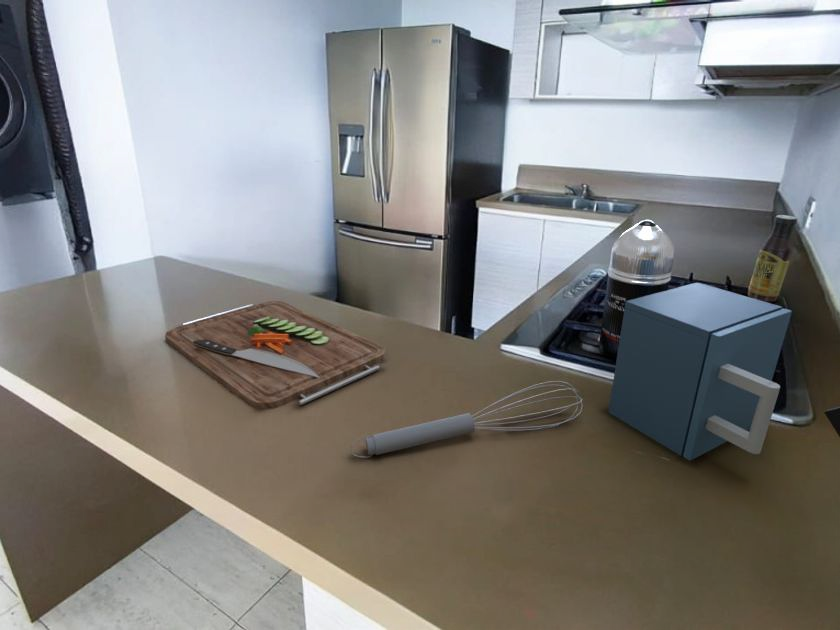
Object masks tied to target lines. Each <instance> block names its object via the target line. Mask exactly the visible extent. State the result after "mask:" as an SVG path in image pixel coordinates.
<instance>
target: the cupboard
mask: <svg viewBox="0 0 840 630" xmlns="http://www.w3.org/2000/svg"><path fill="white" fill-rule="evenodd" d="M782 309H783V306H781V305H777V304H773V303H772V302H764V301H760V300H757V299H753V298H750V297H749V296H746V295H742V294H739V293H735V292H732V291H728V290H725V289H722V288H719V287H715V286H711V285H707V284H704V283H701V282H697V281H696V282H693V283H690V284H686V285H683V286H679V287H675V288H671V289H668V290H667V291H663V292H659V293H655V294H651V295H648V296H644V297H640V298H636V299H632V300H629V301H626V303H625V310H624V316H623V322H622V329H621V335H620V341H619V348H618V354H617V360H615V361H616V362H615V367H614V374H613V381H612V387H611V393H610V399H609V405H608V413H609V414H610V415H611V416H613V417H615V418H617V419H618V420H619V421H622V422H623V423H624V424H627V425H628V426H630V427H631V428H633V429H635V430H637V431H638V432H639V433H642V434H643V435H645V436H647V437H648V438H650V439H652V440H654V441H655V442H657V443H658V444H660V445H661V446H664V447H665V448H666V449H668V450H670V451H672V452H673V453H675V454H677V455H678V456H680V457H683V454H684V450H685V446H686V442H687V437H688V433H689V429H690V424H691V420H692V416H693V411H694V407H695V403H696V398H697V394H698V390H699V386H700V381H701V377H702V373H703V368H704V364H705V360H706V355H707V351H708V347H709V343H710V338H711V334H712V333H715V332H718V331H721V330H724V329H727V328H730V327H733V326H735V325H738V324H741V323H744V322H747V321H750V320H753V319H756V318H759V317H761V316H764V315H767V314H770V313H773V312H776V311H779V310H782Z"/></svg>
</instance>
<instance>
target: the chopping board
mask: <svg viewBox="0 0 840 630" xmlns="http://www.w3.org/2000/svg"><path fill="white" fill-rule="evenodd" d="M164 338H165V341H166V344H167V345H169V346H170V347H171V348H173V349H174V350H176V351H177V352H178V353H180V354H181V355H182V356H183V357H185V358H186V359H188V360H189V361H190V362H191V363H193V364H194V365H195V366H197V367H198V368H200V369H201V370H202V371H203V372H205V373H206V374H208V375H209V376H210V377H211V378H212V379H214V380H215V381H216V382H218V383H219V384H221V385H222V386H223V387H224V388H226V389H227V390H228V391H230V392H231V393H233V394H235V395H236V396H237V397H239V398H240V399H241V400H242V401H244V402H245V403H246V404H248V405H249V406H251V407H252V408H255V409H256V410H257V409H258V410H272V409H276V408H280V407H282V406H285V405H287V404H289V403H292V402H294V401H296V400H298V399H299V400H298V404H299V406H303V405H305V404H307V403H310V402H312V401H313V400H316V399H318V398H321V397H322V396H325V395H327V394H329V393H331V392H334V391H336V390H338V389H340V388H343V387H345V386H346V385H349V384H351V383H353V382H355V381H358V380H360V379H362V378H364V377H365V376H368V375H371V374H373V373H375V372H377V371H380V369H381V368H380V365H378V363H380V362H382V361H384V360H385V359H386V348H385V347H384V346H382V345H381V344H379V343H377V342H375V341H372V340H370V339H368V338H365V337H364V336H361V335H359V334H357V333H355V332H352V331H350V330H348V329H345V328H343V327H341V326H339V325H337V324H334V323H332V322H330V321H327V320H326V319H323V318H321V317H319V316H316V315H314V314H313V313H310V312H308V311H306V310H304V309H302V308H299V307H297V306H295V305H292V304H289V303H287V302H286V301H283V300H269V301H265V302H262V303H261V302H260V303H258V304H253V303H250V304H246V305H243V306H240V307H239V306H238V307H235V308H232V309H228V310H225V311H221V312H218V313H214V314H211V315H207V316H203V317H200V318H196V319H193V320H190V321H185V322H183V323H181V325H180V326H177V327H174V328H171V329H170V330H168V331H166V333H165V335H164ZM372 366H373V367H372ZM365 369H366V370H365ZM361 371H362V372H361ZM358 372H360V373H358ZM356 373H357V374H356ZM354 374H355V375H354ZM352 375H353V376H352ZM350 376H351V377H350ZM345 378H346V379H345ZM343 379H344V380H343ZM341 380H342V381H341ZM336 382H338V383H336ZM327 386H328V387H327ZM325 387H326V388H325ZM323 388H324V389H323ZM316 391H318V392H316ZM314 392H315V393H314ZM311 393H313V394H311ZM309 394H311V395H309ZM307 395H308V396H307ZM300 398H301V399H300Z"/></svg>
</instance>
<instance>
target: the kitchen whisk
mask: <svg viewBox="0 0 840 630" xmlns="http://www.w3.org/2000/svg"><path fill="white" fill-rule="evenodd" d="M548 383H563V384H567V385H568V386H570V387H571V388H570V387H568V386H567V385H561V384H555V386H557V387H563V388H559V389H555V390H551V391H547V392H543V393H540V394H537V395H533V396H529V397H527V398H523V399H521V400H517V401H515V402H512V403H509V404H506V405H503V406H501V407H498V408H496V409H493V410H491V411H489V412H488V411H487V412H486V413H484V414H481V415H479V416H477V415H478V414H480V413H482V412H484V411H486V410H488V409H489V408H492V407H493V406H495V405H497V404H499V403H501V402H504V401H506V400H507V399H509V398H512V397H514V396H517V395H519V394H522V393H524V392H528V391H531V390H534V389H539V388H543V387H552V386H553V387H554V384H548ZM566 390H570V391H572V392H573V393H574V394H575V396H574V395H571V396H570V395H564V396H557V397H550V398H549V397H548V398H544V399H539V400H535V401H532V402H527V403H524V404H520V405H516V406H513V407H509V406H512V405H514V404H518V403H520V402H523V401H526V400H529V399H533V398H535V397H539V396H542V395H546V394H549V393H554V392H558V391H566ZM577 393H578V394H577ZM559 398H560V399H561V398H576V399H575V401H574V402H573V403H572V404H568V405H565V406H561V407H557V408H553V409H547V410H543V411H538V412H532V413H525V414H522V415H515V416H510V417H503V418H497V419H490V420H484V421H478V420H480V419H483V418H486V417H489V416H493V415H496V414H498V413H502V412H506V411H509V410H513V409H515V408H519V407H522V406H526V405H530V404H535V403H539V402H542V401H547V400H553V399H559ZM583 400H584V399H583V398H582V397H580V391H579V390H578V389H576V388H575V387H573V385H571V384H570V383H569V382H565V381H561V380H554V381H553V380H551V381H550V380H549V381H545V382H541V383H537V384H533V385H531V386H527V387H525V388H523V389H521V390H518V391H516V392H513V393H512V394H510V395H507V396H505V397H503V398H500V399H499V400H497V401H496V402H494V403H492V404H490V405H488V406H487V407H485V408H483V409H481V410H480V411H478V412H476V413H474V414H473V415H472V414H471V413H470V412H467V413H463V414H459V415H454V416H450V417H445V418H441V419H436V420H432V421H428V422H423V423H418V424H415V425H411V426H405V427H402V428H397V429H391V430H387V431H384V432H379V433H375V434H372V435H371V436H368V435H364V436H362V437H360V438H358V439H357V440H355V441H354V442H353V443H352V444H351V446H350V453H351V454H352V455H353V456H355V457H357V458H371V457H372V456H373V455H375V456H379V455H383V454H388V453H392V452H396V451H401V450H404V449H408V448H409V449H410V448H412V447H416V446H421V445H426V444H429V443H434V442H439V441H442V440H447V439H450V438H455V437H459V436H463V435H464V436H465V435H467V434H471V433H472V434H473V433H474V432H475V430H476V429H478V430H487V431H489V430H490V431H508V432H509V431H515V432H516V431H517V432H518V431H520V432H521V431H534V430H539V429H540V430H541V429H542V428H544V429H547V428H552V427H557V426H559V425H561V424H563V423H564V424H565V423H567V422H569V421H571V420H574V419H576V418H577V417H578V416H579V415H580V414H581V413H582V410H583V407H584V405H583V402H582V401H583ZM579 404H581V407H580V411H579V413H577V414H576V412H577V411H578V408H579ZM575 405H576V408H575V410H574V412H573V414H572V415H571V416H569V417H568V418H567V419H566V420H564V421H560V422H556V423H552V424H544V425H534V426H521V427H520V426H516V427H515V426H509V427H508V426H507V427H505V426H504V427H502V426H501V427H499V426H498V427H497V426H493V425H506V424H515V423H521V422H527V421H528V422H529V421H533V420H537V419H538V417H536V418H530V419H524V420H518V421H517V420H516V421H508V422H497V423H491V422H495V421H502V420H509V419H514V418H520V417H526V416H531V415H536V414H537V415H538V414H542V413H546V412H551V411H552V412H553V411H556V410H559V411H558V412H555V413H552V414H548V415H544V416H540V417H539V419H543V418H547V417H551V416H554V415H557V414H560V413H562V412H564V411H566V410H568V409H570V408H571V407H573V406H575ZM506 407H509V408H506ZM504 408H506V409H504ZM501 409H503V410H501ZM561 409H562V410H561ZM495 411H496V412H495ZM575 414H576V415H575ZM475 416H476V417H475ZM473 417H474V418H473ZM475 421H478V422H475ZM489 422H490V423H489ZM364 438H365V445H366V450H367V455H368V456H363V455H357V454H354V453H353V446H354V445H355V444H356V443H357V442H359V441H360V440H362V439H364Z"/></svg>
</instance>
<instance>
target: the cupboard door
mask: <svg viewBox="0 0 840 630" xmlns="http://www.w3.org/2000/svg"><path fill="white" fill-rule="evenodd" d="M792 313H793V310H791V309H787V308H782V309H781V310H779V311H776V312H773V313H770V314H767V315H764V316H761V317H759V318H756V319H753V320H750V321H747V322H744V323H741V324H738V325H735V326H733V327H730V328H727V329H724V330H721V331H718V332H715V333H712V334H711V338H710V343H709V347H708V351H707V355H706V360H705V364H704V368H703V373H702V377H701V381H700V386H699V390H698V394H697V398H696V403H695V407H694V411H693V416H692V420H691V424H690V429H689V433H688V437H687V442H686V446H685V450H684V454H683V455H682V457H683V458H684V459H686V460H688V461H693V460H694V459H696V458H698V457H700V456H702V455H704V454H706V453H708V452H710V451H711V450H713V449H716V448H718V447H720V446H721V445H723V444H725V443H727V442H728V443H731V444H732V445H734V446H736V447H739V448H740V449H742V450H744V451H746V452H748V453H750V454H752V455H759V454H761V452H762V449H763V445H764V443H765V439H766V436H767V433H768V430H769V426H770V422H771V419H772V417H773V412H774V410H775V406H776V403H777V400H778V396H779V393H780V389H781V385H780V384H778V383H777V382H775V381H773V378H774V376H775V375H774V374H775V370H776V367H777V364H778V361H779V357H780V353H781V350H782V347H783V343H784V340H785V337H786V333H787V330H788V326H789V323H790V321H791V317H792Z"/></svg>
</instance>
